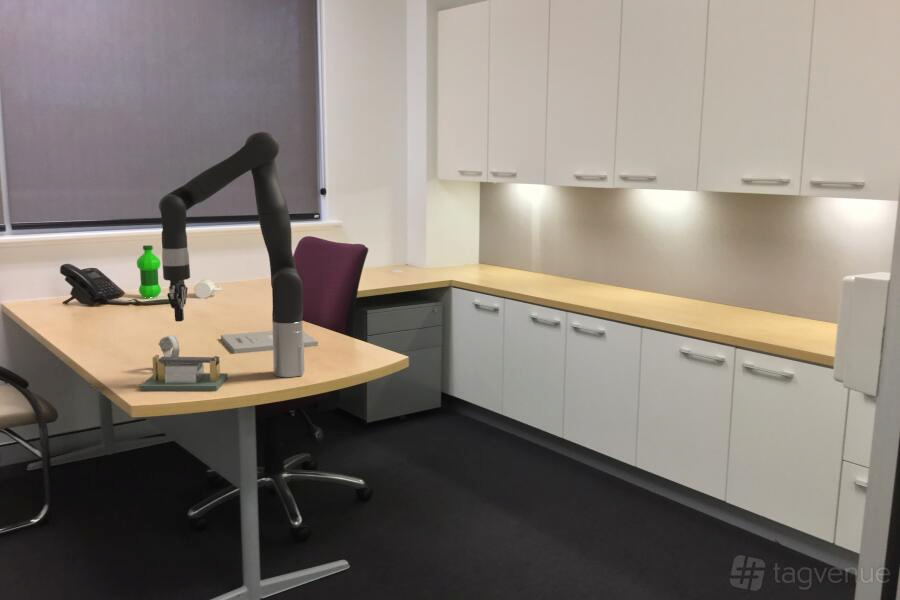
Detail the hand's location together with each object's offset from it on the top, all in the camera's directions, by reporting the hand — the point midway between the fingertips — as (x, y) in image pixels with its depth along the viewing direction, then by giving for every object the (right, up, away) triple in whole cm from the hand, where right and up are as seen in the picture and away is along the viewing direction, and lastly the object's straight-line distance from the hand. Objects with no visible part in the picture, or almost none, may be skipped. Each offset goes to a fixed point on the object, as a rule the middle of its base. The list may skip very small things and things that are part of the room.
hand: (179, 320), depth 240 cm
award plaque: (+14, -10, +58) cm, 60 cm away
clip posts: (+2, -18, +2) cm, 18 cm away
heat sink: (+1, -18, +2) cm, 18 cm away
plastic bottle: (-63, +7, +147) cm, 161 cm away
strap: (+2, -12, +1) cm, 13 cm away
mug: (-37, +8, +152) cm, 157 cm away
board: (+1, -19, +2) cm, 19 cm away
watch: (-9, -16, +19) cm, 26 cm away
